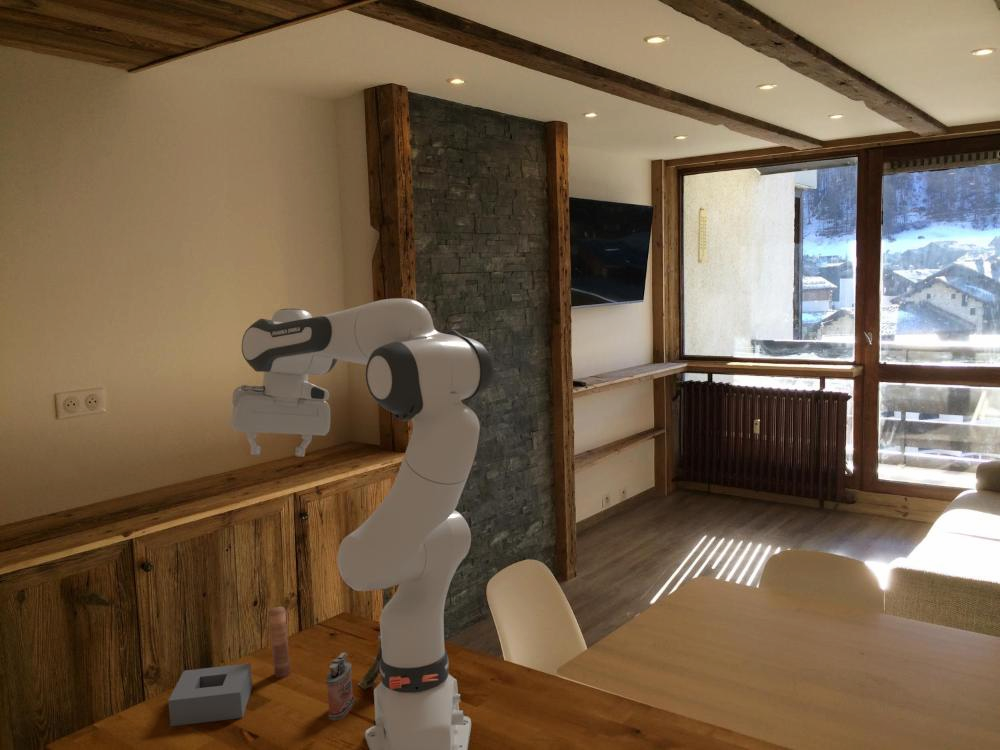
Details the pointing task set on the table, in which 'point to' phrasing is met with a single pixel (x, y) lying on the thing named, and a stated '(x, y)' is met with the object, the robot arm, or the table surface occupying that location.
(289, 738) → the table surface
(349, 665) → the lighter
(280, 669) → the peg
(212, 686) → the holder
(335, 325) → the robot arm
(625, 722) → the table surface
